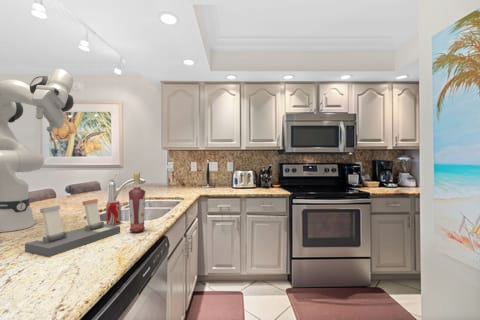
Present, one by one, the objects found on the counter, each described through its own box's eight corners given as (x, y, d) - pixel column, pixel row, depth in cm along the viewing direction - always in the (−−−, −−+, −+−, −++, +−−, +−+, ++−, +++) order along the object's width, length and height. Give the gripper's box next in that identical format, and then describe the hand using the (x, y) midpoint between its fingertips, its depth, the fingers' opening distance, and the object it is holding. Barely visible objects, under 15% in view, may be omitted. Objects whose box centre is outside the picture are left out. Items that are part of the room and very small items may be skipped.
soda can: (114, 226, 130) (114, 202, 130) (103, 225, 131) (102, 202, 131) (123, 222, 137) (123, 200, 137) (112, 222, 138) (112, 200, 138)
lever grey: (45, 242, 96) (39, 209, 97) (61, 237, 101) (56, 206, 102) (49, 241, 95) (43, 208, 96) (65, 236, 100) (59, 205, 101)
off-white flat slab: (87, 230, 111) (81, 202, 113) (99, 227, 117) (94, 199, 118) (91, 229, 111) (85, 200, 112) (103, 226, 116) (97, 198, 117)
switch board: (24, 251, 95) (24, 237, 95) (98, 229, 123) (98, 218, 123) (49, 256, 89) (48, 241, 89) (120, 232, 118) (120, 221, 118)
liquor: (144, 233, 117) (144, 172, 117) (127, 234, 116) (127, 173, 116) (146, 228, 125) (146, 172, 124) (130, 229, 123) (130, 172, 123)
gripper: (56, 113, 121) (47, 137, 115) (34, 82, 104) (22, 109, 97) (71, 114, 122) (62, 138, 116) (52, 84, 105) (40, 110, 98)
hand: (44, 124), depth 106 cm, fingers open, 8 cm apart
